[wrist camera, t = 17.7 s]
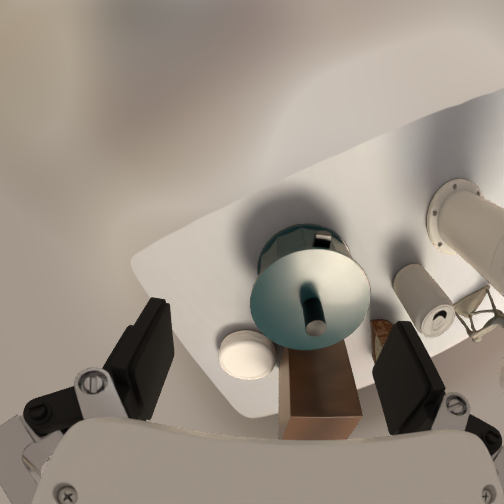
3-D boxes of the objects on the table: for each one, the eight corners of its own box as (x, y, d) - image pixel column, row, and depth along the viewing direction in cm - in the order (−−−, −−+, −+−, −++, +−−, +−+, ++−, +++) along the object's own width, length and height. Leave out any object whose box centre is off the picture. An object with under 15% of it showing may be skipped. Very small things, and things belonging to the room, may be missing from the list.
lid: (383, 254, 32) (398, 274, 28) (351, 349, 39) (358, 375, 34) (256, 239, 33) (253, 259, 28) (246, 342, 39) (242, 369, 34)
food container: (400, 352, 50) (416, 388, 41) (372, 361, 51) (384, 399, 42) (401, 304, 45) (423, 341, 36) (369, 314, 47) (386, 353, 37)
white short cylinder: (210, 338, 51) (207, 351, 48) (261, 321, 48) (260, 335, 45) (236, 372, 54) (234, 385, 51) (283, 359, 52) (284, 372, 49)
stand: (342, 333, 49) (363, 416, 32) (328, 371, 53) (340, 448, 36) (287, 329, 49) (290, 416, 32) (278, 368, 53) (278, 448, 37)
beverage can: (427, 260, 42) (462, 300, 31) (420, 294, 44) (449, 337, 33) (394, 262, 42) (426, 304, 31) (388, 296, 45) (414, 343, 34)
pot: (362, 221, 40) (383, 245, 32) (337, 317, 47) (347, 354, 39) (263, 208, 40) (261, 231, 32) (252, 310, 47) (248, 347, 39)
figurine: (447, 328, 47) (479, 379, 34) (448, 304, 45) (486, 356, 31) (487, 308, 45) (523, 352, 31) (490, 284, 43) (530, 327, 29)
